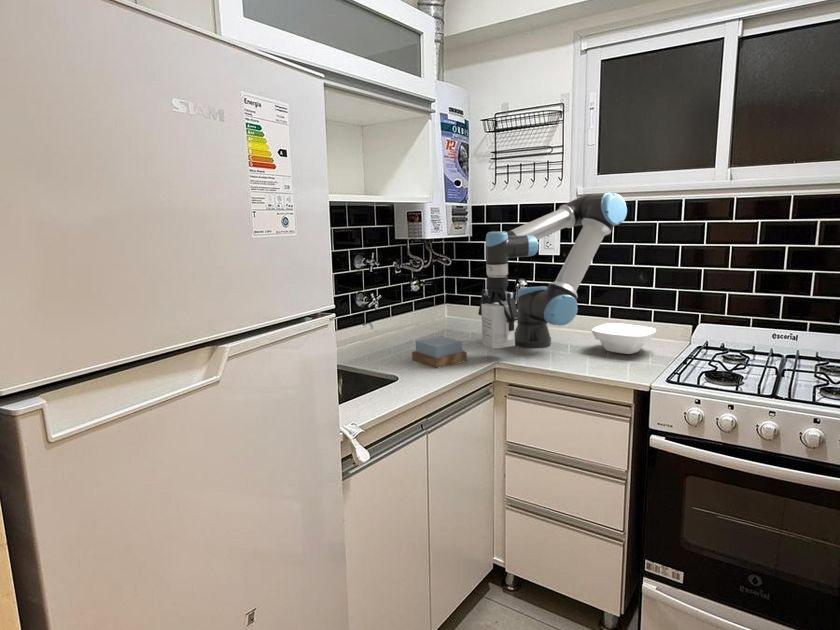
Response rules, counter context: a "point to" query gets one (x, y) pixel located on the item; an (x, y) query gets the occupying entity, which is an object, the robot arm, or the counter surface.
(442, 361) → the tower base
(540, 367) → the counter surface
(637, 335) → the bowl
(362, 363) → the counter surface
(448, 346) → the tower top
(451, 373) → the counter surface
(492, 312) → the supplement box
